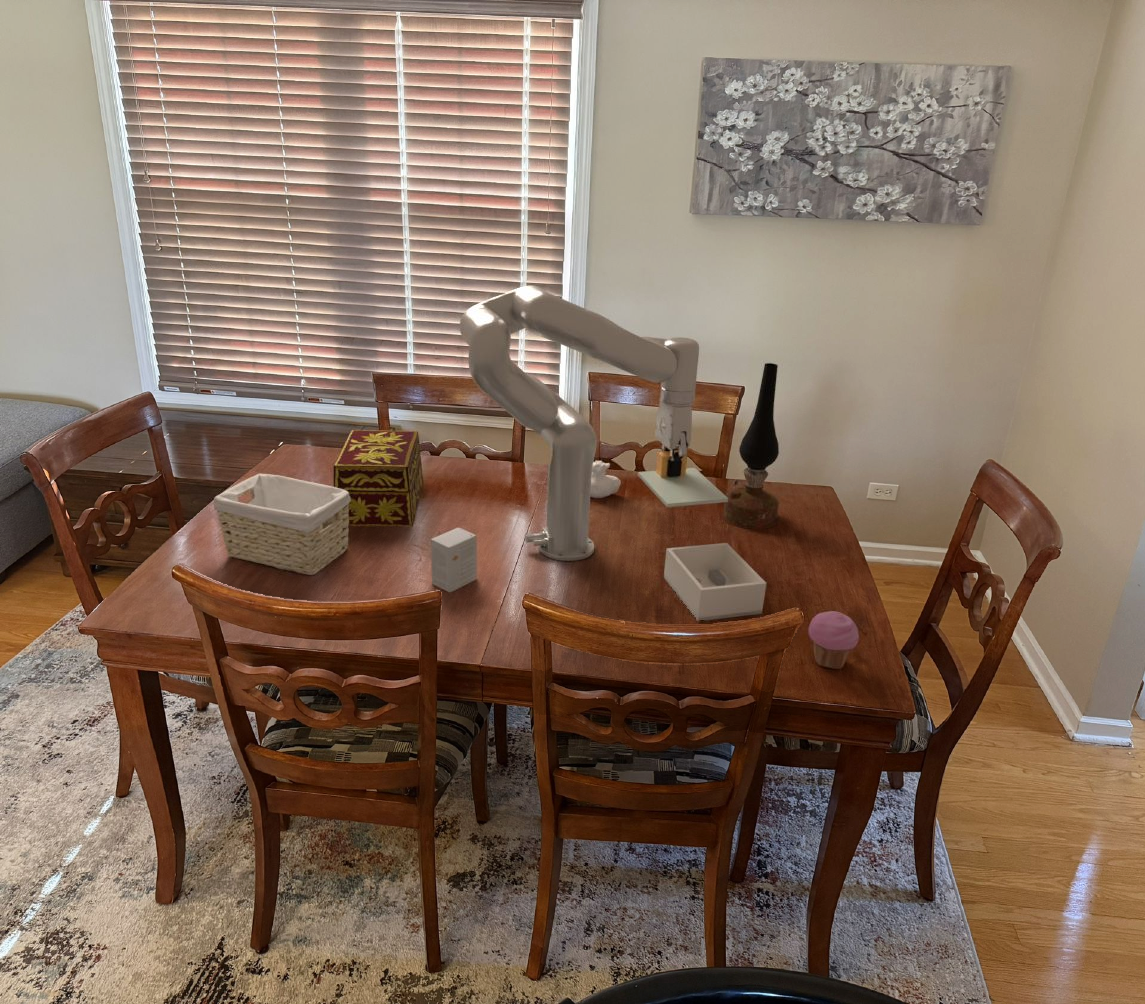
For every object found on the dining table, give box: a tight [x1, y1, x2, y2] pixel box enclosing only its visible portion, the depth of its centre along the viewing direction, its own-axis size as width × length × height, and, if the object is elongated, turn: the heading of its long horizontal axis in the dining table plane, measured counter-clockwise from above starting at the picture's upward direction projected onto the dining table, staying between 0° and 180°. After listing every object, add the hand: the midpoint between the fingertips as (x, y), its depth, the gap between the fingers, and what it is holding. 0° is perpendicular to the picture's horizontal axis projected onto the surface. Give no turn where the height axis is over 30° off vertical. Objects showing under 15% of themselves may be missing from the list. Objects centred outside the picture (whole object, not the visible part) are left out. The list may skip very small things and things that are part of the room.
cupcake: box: [807, 610, 860, 670], centre depth 151 cm, size 9×9×10 cm
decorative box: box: [333, 429, 424, 528], centre depth 206 cm, size 28×19×15 cm
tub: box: [663, 542, 767, 622], centre depth 173 cm, size 18×14×7 cm
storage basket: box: [213, 473, 351, 576], centre depth 180 cm, size 24×16×15 cm
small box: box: [430, 527, 478, 593], centre depth 172 cm, size 8×6×10 cm
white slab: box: [637, 450, 728, 508], centre depth 185 cm, size 18×14×7 cm
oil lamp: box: [721, 362, 780, 530], centre depth 204 cm, size 14×15×40 cm
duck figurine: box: [590, 460, 622, 499], centre depth 217 cm, size 12×8×11 cm
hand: (670, 472), depth 191 cm, fingers closed on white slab, 3 cm apart
